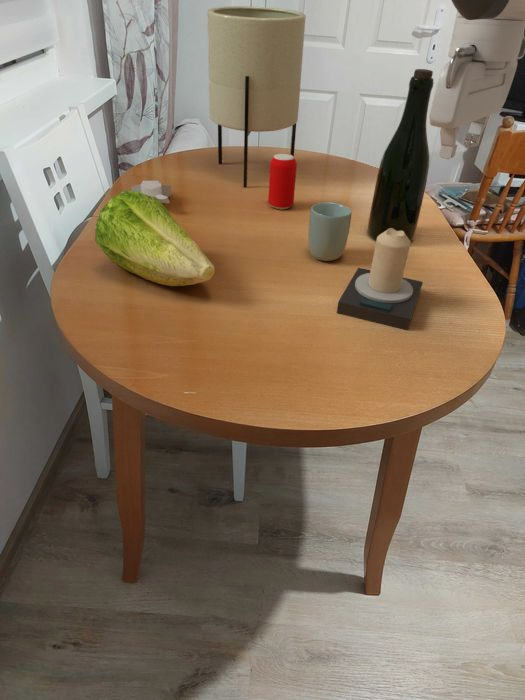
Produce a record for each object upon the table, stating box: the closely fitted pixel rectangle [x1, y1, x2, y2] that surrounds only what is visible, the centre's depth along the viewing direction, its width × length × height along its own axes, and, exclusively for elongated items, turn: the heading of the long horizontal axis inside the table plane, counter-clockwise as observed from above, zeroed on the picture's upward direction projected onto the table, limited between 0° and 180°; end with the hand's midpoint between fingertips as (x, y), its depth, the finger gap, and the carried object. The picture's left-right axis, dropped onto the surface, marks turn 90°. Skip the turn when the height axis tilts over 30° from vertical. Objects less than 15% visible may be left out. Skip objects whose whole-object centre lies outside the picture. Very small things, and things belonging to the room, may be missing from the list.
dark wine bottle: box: [366, 68, 435, 242], centre depth 105 cm, size 10×10×33 cm
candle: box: [369, 228, 412, 293], centre depth 87 cm, size 6×6×10 cm
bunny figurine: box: [130, 180, 172, 205], centre depth 123 cm, size 10×5×15 cm
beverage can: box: [267, 153, 298, 211], centre depth 123 cm, size 6×6×12 cm
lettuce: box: [94, 189, 215, 287], centre depth 91 cm, size 14×24×15 cm
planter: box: [206, 5, 307, 188], centre depth 135 cm, size 23×24×39 cm
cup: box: [307, 201, 352, 262], centre depth 102 cm, size 8×8×10 cm
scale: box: [336, 267, 424, 331], centre depth 90 cm, size 12×14×3 cm
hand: (459, 151), depth 77 cm, fingers open, 8 cm apart
